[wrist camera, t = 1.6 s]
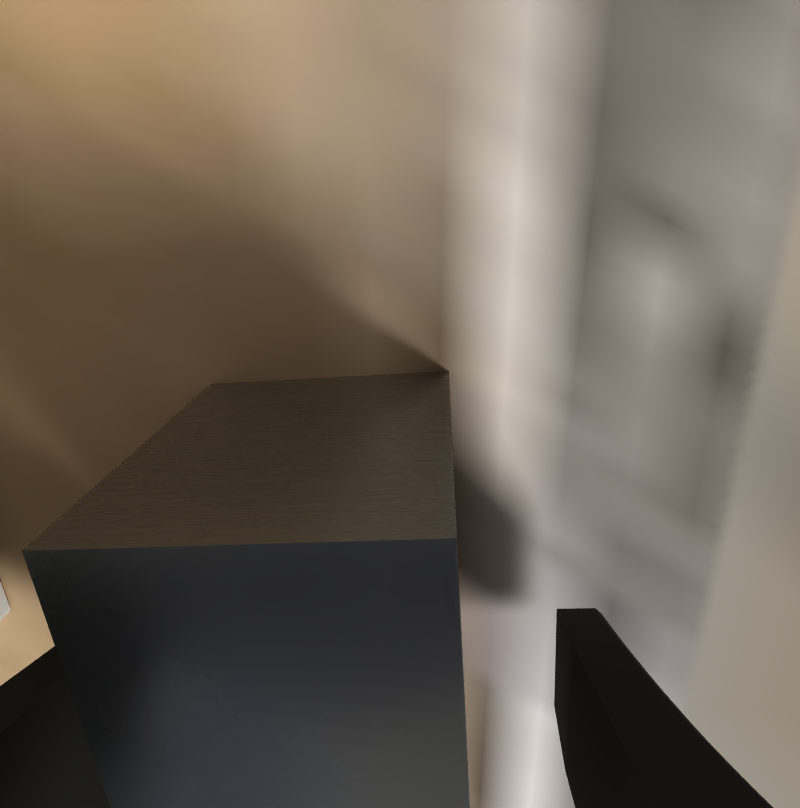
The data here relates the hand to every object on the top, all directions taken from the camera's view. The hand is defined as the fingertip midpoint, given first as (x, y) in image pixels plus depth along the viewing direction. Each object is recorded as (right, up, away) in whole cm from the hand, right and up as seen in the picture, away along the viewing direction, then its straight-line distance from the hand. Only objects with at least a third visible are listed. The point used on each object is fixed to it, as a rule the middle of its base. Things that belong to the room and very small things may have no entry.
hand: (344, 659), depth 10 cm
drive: (0, +1, +2) cm, 2 cm away
